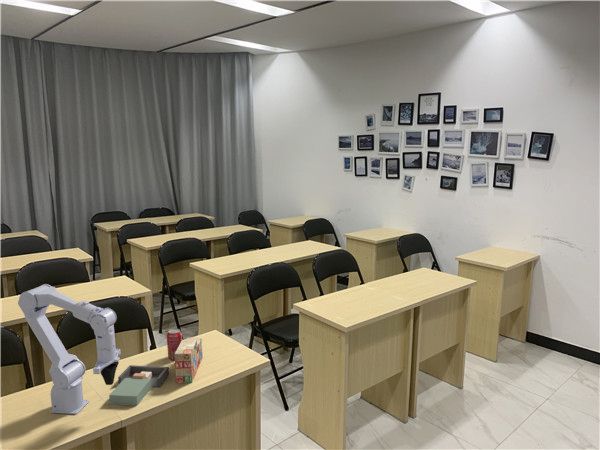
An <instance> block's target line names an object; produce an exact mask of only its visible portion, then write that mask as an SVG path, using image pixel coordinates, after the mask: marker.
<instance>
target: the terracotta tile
mask: <svg viewBox="0 0 600 450" xmlns="http://www.w3.org/2000/svg"><path fill="white" fill-rule="evenodd" d="M133 378H140V379H146V374H145V373H135V374H134V375H133Z"/></svg>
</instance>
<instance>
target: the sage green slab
mask: <svg viewBox="0 0 600 450" xmlns="http://www.w3.org/2000/svg"><path fill="white" fill-rule="evenodd" d="M152 388H153V387H151V379H140V378H125V379H124V380H123V381H122V382H121V383H120V384H119V383H118V385H117V386H116V387H115V388H114V389H113V390H112V392H111V393H109V395H108V397H109V405H116V406H117V405H121V406H138V405H139V404H140V403H141V402H142V400H143V399H144V398H145V396H146V395H147V394H148V393H149V391H150V390H151V389H152Z"/></svg>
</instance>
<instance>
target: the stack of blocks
mask: <svg viewBox="0 0 600 450" xmlns="http://www.w3.org/2000/svg"><path fill="white" fill-rule="evenodd" d="M202 342H203V341H202V337H201V336H200V337H186V339H182V341H181V343H180V345H179V347H178V349H177V350H176V352H175V360H174V367H175V368H174V369H175V383H176V384H185V383H187V384H188V383H189V384H192V383H193V381H194V379H196V375H197V373H198V371H199V370H198V369H199V366H200V365H201V362H202V360H203V344H202Z"/></svg>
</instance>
